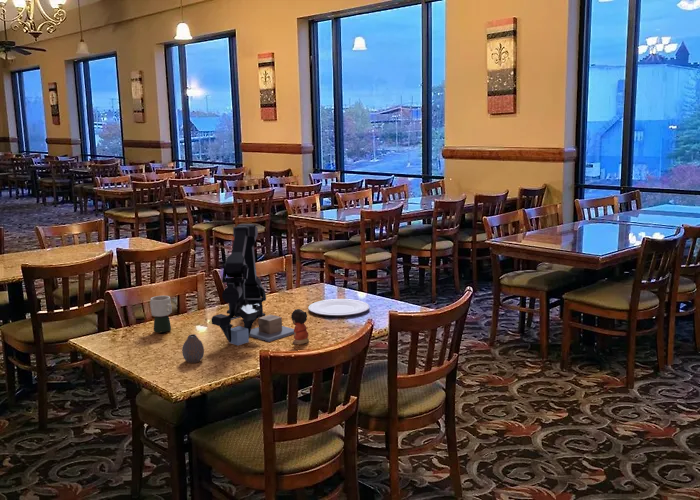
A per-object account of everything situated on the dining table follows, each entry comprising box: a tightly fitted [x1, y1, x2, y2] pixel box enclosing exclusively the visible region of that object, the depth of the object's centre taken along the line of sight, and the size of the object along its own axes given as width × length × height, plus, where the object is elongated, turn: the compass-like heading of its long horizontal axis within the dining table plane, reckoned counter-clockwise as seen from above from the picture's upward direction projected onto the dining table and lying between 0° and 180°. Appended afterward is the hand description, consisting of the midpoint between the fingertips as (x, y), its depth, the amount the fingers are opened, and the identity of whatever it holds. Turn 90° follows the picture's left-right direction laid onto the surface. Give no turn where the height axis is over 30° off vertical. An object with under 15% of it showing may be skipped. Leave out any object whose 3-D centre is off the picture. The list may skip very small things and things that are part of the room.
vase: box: [181, 333, 205, 364], centre depth 230 cm, size 7×7×9 cm
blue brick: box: [228, 325, 250, 346], centre depth 249 cm, size 5×5×5 cm
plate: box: [308, 298, 370, 318], centre depth 288 cm, size 25×25×2 cm
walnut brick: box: [257, 314, 283, 334], centre depth 258 cm, size 6×6×5 cm
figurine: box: [290, 308, 310, 345], centre depth 247 cm, size 6×6×12 cm
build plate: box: [249, 325, 294, 343], centre depth 259 cm, size 14×14×1 cm
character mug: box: [149, 295, 173, 333], centre depth 262 cm, size 11×7×13 cm, turn 57°
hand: (238, 339), depth 249 cm, fingers open, 8 cm apart
